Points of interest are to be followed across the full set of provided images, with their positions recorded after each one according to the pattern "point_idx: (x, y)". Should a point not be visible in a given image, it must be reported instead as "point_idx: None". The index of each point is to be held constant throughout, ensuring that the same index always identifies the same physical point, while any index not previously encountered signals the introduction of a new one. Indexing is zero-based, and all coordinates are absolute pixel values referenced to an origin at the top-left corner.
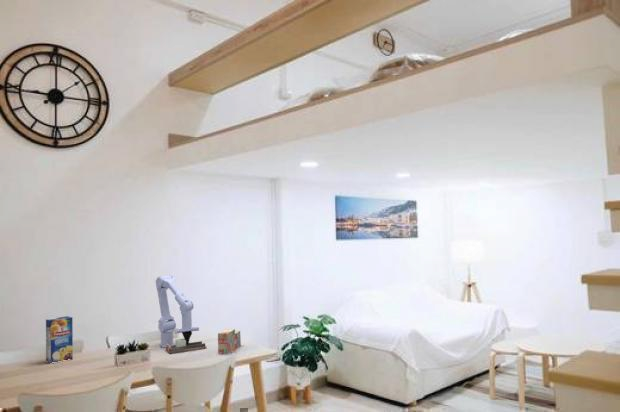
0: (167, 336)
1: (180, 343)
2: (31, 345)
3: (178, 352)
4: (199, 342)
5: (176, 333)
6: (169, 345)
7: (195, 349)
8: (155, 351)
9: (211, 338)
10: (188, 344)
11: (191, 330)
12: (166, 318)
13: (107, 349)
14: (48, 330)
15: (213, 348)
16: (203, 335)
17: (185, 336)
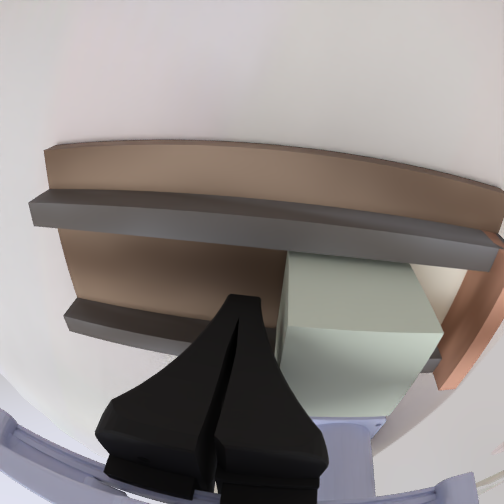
0: (354, 488)
1: (384, 298)
2: (499, 483)
3: (424, 168)
4: (87, 317)
5: (459, 477)
6: (488, 323)
7: (175, 142)
8: (480, 360)
9: (48, 390)
10: None
11: (97, 481)
12: None
13: (500, 447)
14: None
15: (9, 117)
16: (93, 440)
17: (283, 398)
